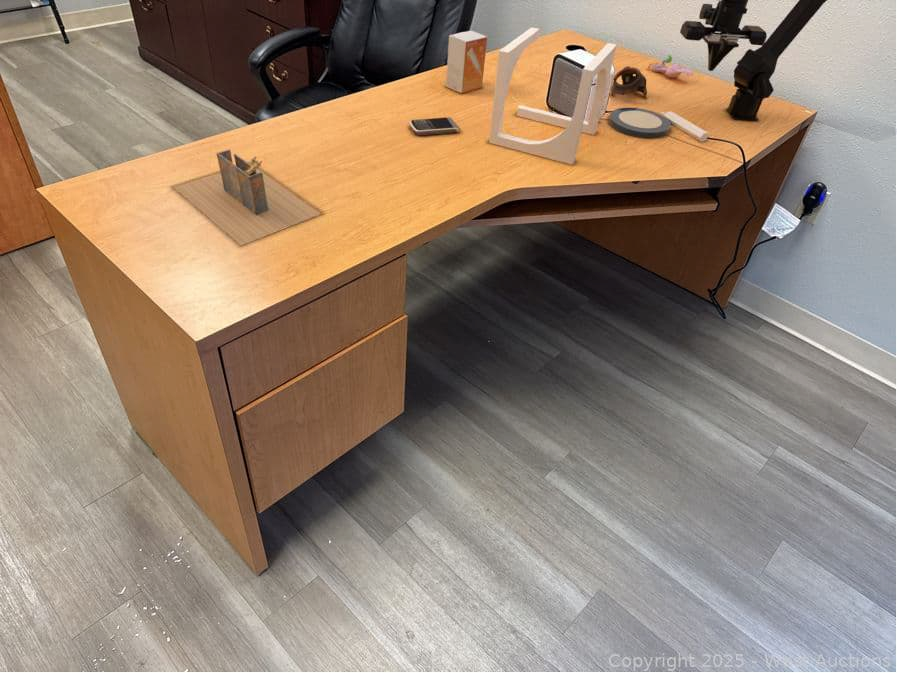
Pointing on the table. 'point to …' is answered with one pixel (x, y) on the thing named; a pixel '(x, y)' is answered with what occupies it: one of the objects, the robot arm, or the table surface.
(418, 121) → the cell phone
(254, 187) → the architectural model on board
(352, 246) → the table surface
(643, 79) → the brown curved piece
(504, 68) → the white open stand
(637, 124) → the plate
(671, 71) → the pink elongated piece
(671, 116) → the beige long bar
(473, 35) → the small box
